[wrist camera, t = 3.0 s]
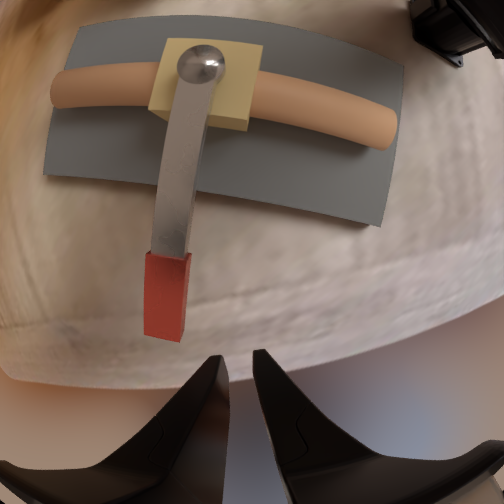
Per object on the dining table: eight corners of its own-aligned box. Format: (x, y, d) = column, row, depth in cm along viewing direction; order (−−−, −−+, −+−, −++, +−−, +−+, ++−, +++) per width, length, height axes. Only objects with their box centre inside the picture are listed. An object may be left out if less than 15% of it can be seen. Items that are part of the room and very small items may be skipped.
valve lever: (187, 52, 12) (182, 42, 10) (230, 55, 12) (229, 44, 10) (149, 322, 16) (142, 334, 15) (185, 330, 16) (181, 342, 15)
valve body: (395, 70, 17) (435, 48, 11) (372, 223, 21) (412, 242, 15) (87, 32, 15) (53, 8, 9) (52, 173, 19) (6, 178, 13)
